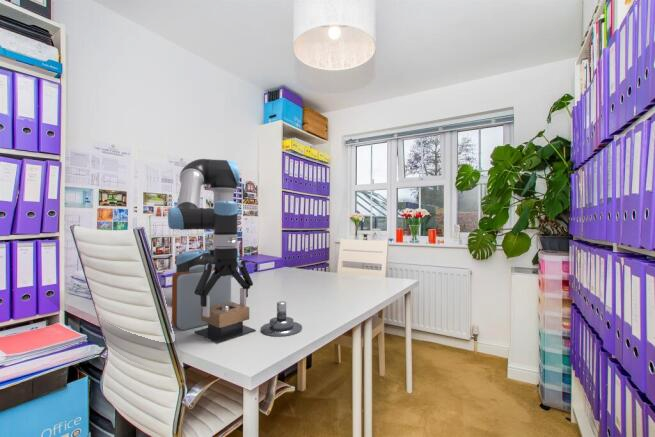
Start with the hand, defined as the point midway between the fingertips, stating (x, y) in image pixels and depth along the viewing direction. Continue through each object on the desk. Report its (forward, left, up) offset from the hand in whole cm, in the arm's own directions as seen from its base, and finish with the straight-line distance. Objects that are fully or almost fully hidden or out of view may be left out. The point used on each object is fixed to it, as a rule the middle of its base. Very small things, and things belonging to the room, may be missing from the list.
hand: (225, 311), depth 103 cm
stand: (0, 0, -7) cm, 7 cm away
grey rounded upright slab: (-15, 0, -7) cm, 17 cm away
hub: (+12, +14, -7) cm, 20 cm away
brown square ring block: (0, 0, -3) cm, 3 cm away
